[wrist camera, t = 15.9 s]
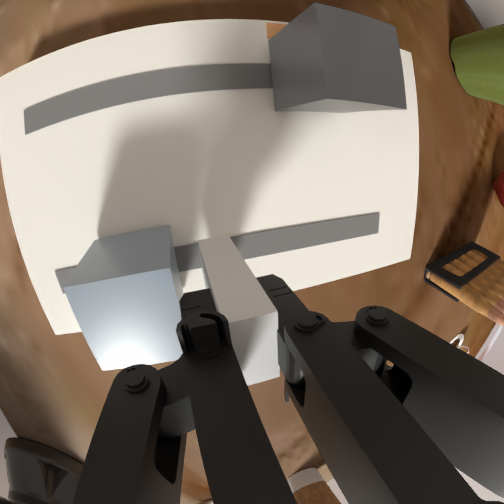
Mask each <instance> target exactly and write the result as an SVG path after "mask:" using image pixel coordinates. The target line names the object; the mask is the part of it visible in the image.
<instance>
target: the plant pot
mask: <svg viewBox="0 0 504 504" xmlns="http://www.w3.org/2000/svg"><path fill="white" fill-rule="evenodd" d="M450 53H451V59H452V61H453V62H454V65H455V73H456V76H457V78H458V80H459V82H460V84H461V86H462V87H463V88H464V90H465V91H466V92H467V93H468V94H469V95H471V96H474V97H478V98H482V99H485V100H489V101H493V102H496V103H499V104H502V105H504V24H502V25H498V26H494V27H491V28H487V29H483V30H480V31H476V32H473V33H469V34H466V35H463V36H460V37H457V38H455V39H453V41H452V43H451V47H450Z"/></svg>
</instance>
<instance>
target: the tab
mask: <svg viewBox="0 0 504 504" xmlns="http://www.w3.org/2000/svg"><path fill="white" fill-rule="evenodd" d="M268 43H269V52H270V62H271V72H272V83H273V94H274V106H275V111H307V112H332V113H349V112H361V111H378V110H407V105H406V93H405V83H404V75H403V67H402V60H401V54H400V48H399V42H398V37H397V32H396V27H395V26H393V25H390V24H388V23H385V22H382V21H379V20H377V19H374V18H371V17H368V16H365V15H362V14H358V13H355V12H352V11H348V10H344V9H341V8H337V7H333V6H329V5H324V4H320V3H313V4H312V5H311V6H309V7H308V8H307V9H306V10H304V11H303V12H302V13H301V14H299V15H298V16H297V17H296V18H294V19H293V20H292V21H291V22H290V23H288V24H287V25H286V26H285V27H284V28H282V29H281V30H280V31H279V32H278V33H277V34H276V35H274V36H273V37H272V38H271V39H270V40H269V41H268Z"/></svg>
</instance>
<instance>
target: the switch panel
mask: <svg viewBox="0 0 504 504" xmlns="http://www.w3.org/2000/svg"><path fill="white" fill-rule="evenodd" d="M287 24H288V22H279V21H268V20H250V19H209V20H192V21H180V22H171V23H163V24H156V25H150V26H144V27H138V28H133V29H128V30H124V31H119V32H115V33H111V34H107V35H103V36H100V37H96V38H93V39H89V40H86V41H83V42H80V43H77V44H74V45H71V46H68V47H65V48H62V49H60V50H57V51H55V52H52V53H50V54H47V55H45V56H42V57H40V58H38V59H36V60H33V61H31V62H29V63H27V64H25V65H23V66H21V67H19V68H17V69H15V70H13V71H11V72H9V73H7V74H5V75H4V76H2V77H0V156H1V164H2V171H3V178H4V184H5V190H6V195H7V200H8V205H9V209H10V214H11V218H12V222H13V226H14V229H15V233H16V237H17V240H18V243H19V247H20V250H21V253H22V256H23V259H24V262H25V265H26V268H27V270H28V273H29V276H30V279H31V281H32V284H33V286H34V289H35V291H36V294H37V296H38V298H39V301H40V303H41V305H42V307H43V310H44V312H45V314H46V316H47V318H48V320H49V322H50V324H51V326H52V328H53V330H54V332H55V334H56V335H59V334H67V333H75V332H82V330H81V328H80V326H79V324H78V322H77V320H76V317H75V315H74V313H73V311H72V308H71V306H70V303H69V301H68V299H67V296H66V294H65V291H64V289H63V287H64V286H65V284H66V282H67V281H68V279H69V278H70V276H71V274H72V273H73V271H74V270H75V268H76V267H77V265H78V264H79V262H80V261H81V259H82V258H83V256H84V255H85V253H86V252H87V250H88V249H89V247H90V246H91V244H92V243H93V242H94V240H97V239H101V238H106V237H111V236H115V235H120V234H125V233H130V232H135V231H140V230H145V229H150V228H155V227H160V226H166V225H170V230H171V235H172V241H173V246H174V251H175V256H176V261H177V266H178V270H179V275H180V280H181V284H182V289H183V293H187V292H192V291H197V290H202V289H206V287H205V281H204V276H203V270H202V264H201V259H200V253H199V246H198V240H202V239H207V238H213V237H219V236H224V235H229V237H230V239H231V240H232V242H233V243H234V245H235V246H236V248H237V249H238V251H239V253H240V254H241V256H242V257H243V259H244V260H245V262H246V263H247V265H248V266H249V268H250V270H251V271H252V273H253V274H254V276H255V277H256V278H257V277H261V276H266V275H271V274H274V275H276V276H278V277H280V278H282V279H283V280H284V281H285V282H286V284H287V285H288V287H290V288H291V290H292V291H295V290H299V289H303V288H307V287H311V286H315V285H319V284H323V283H326V282H330V281H334V280H338V279H341V278H345V277H349V276H352V275H356V274H360V273H363V272H367V271H370V270H374V269H377V268H381V267H384V266H387V265H391V264H394V263H398V262H401V261H404V260H407V259H410V256H411V249H412V242H413V235H414V226H415V217H416V206H417V193H418V174H419V127H418V108H417V95H416V85H415V77H414V69H413V62H412V56H411V53H410V52H407V51H405V50H402V49H400V54H401V60H402V67H403V75H404V83H405V93H406V105H407V110H378V111H361V112H349V113H332V112H307V111H275V106H274V94H273V83H272V72H271V62H270V52H269V43H268V41H269V40H270V39H271V38H272V37H273V36H274V35H276V34H277V33H278V32H279V31H280V30H281V29H282V28H284V27H285V26H286V25H287Z"/></svg>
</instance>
